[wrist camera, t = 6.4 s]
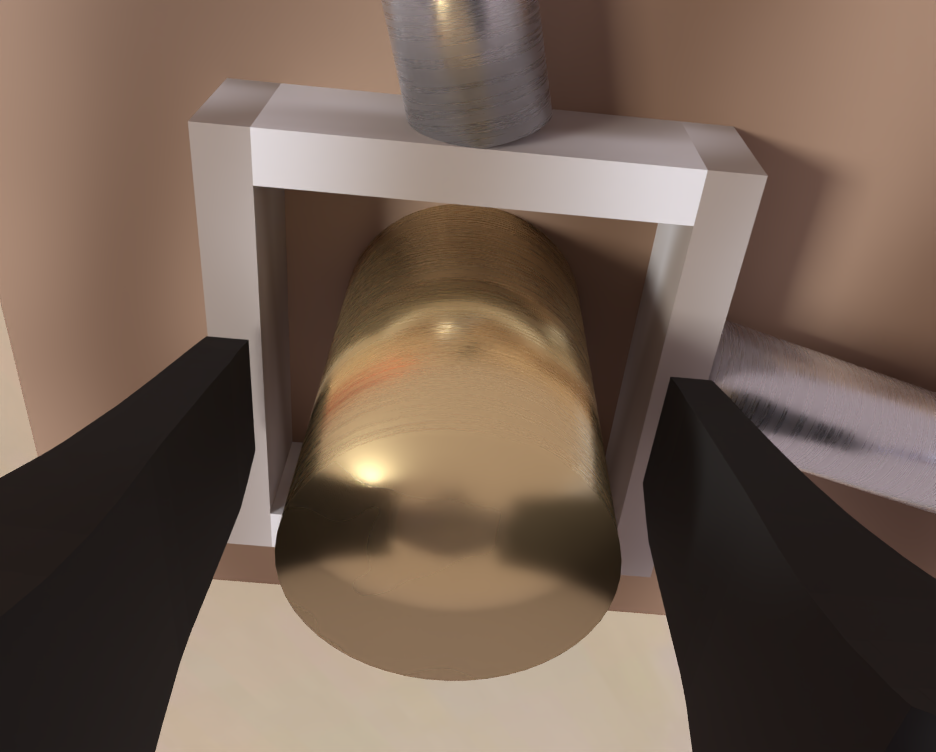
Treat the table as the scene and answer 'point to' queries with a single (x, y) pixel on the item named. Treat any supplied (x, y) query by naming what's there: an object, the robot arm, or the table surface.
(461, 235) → the brass cylinder
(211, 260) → the plate
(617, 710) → the table surface
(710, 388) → the robot arm
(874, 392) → the shaft
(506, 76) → the shaft
